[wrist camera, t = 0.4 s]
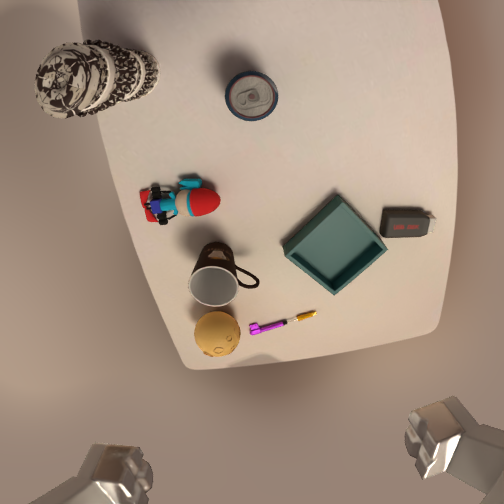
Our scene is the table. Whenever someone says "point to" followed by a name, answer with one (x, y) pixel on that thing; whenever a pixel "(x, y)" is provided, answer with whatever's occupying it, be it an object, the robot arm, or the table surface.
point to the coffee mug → (216, 276)
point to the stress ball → (217, 334)
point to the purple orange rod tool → (277, 324)
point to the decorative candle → (93, 78)
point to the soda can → (251, 96)
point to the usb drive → (406, 223)
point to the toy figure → (180, 201)
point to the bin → (334, 246)
